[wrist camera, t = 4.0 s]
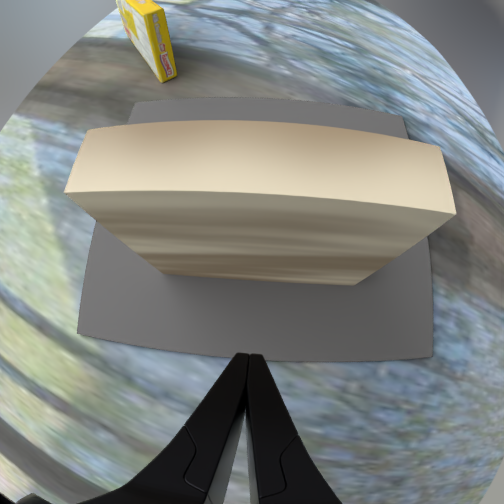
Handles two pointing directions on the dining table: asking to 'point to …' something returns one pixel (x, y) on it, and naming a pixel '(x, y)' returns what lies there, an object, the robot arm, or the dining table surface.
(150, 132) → the birch tile
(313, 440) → the dining table surface
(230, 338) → the mat
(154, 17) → the candy box
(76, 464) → the dining table surface
